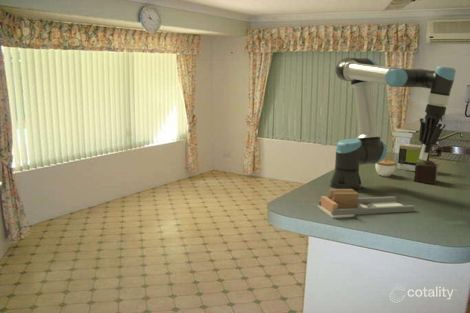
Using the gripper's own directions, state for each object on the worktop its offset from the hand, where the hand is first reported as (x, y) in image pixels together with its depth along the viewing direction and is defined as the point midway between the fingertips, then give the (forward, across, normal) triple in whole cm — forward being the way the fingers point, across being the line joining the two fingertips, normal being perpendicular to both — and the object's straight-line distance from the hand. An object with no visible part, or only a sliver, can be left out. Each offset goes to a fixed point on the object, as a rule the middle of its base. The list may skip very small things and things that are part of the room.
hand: (422, 159), depth 177 cm
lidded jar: (+22, +49, -19) cm, 57 cm away
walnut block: (+22, -4, +35) cm, 42 cm away
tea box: (+21, +60, -45) cm, 78 cm away
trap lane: (+22, -5, +26) cm, 34 cm away
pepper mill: (+20, +35, -36) cm, 54 cm away
